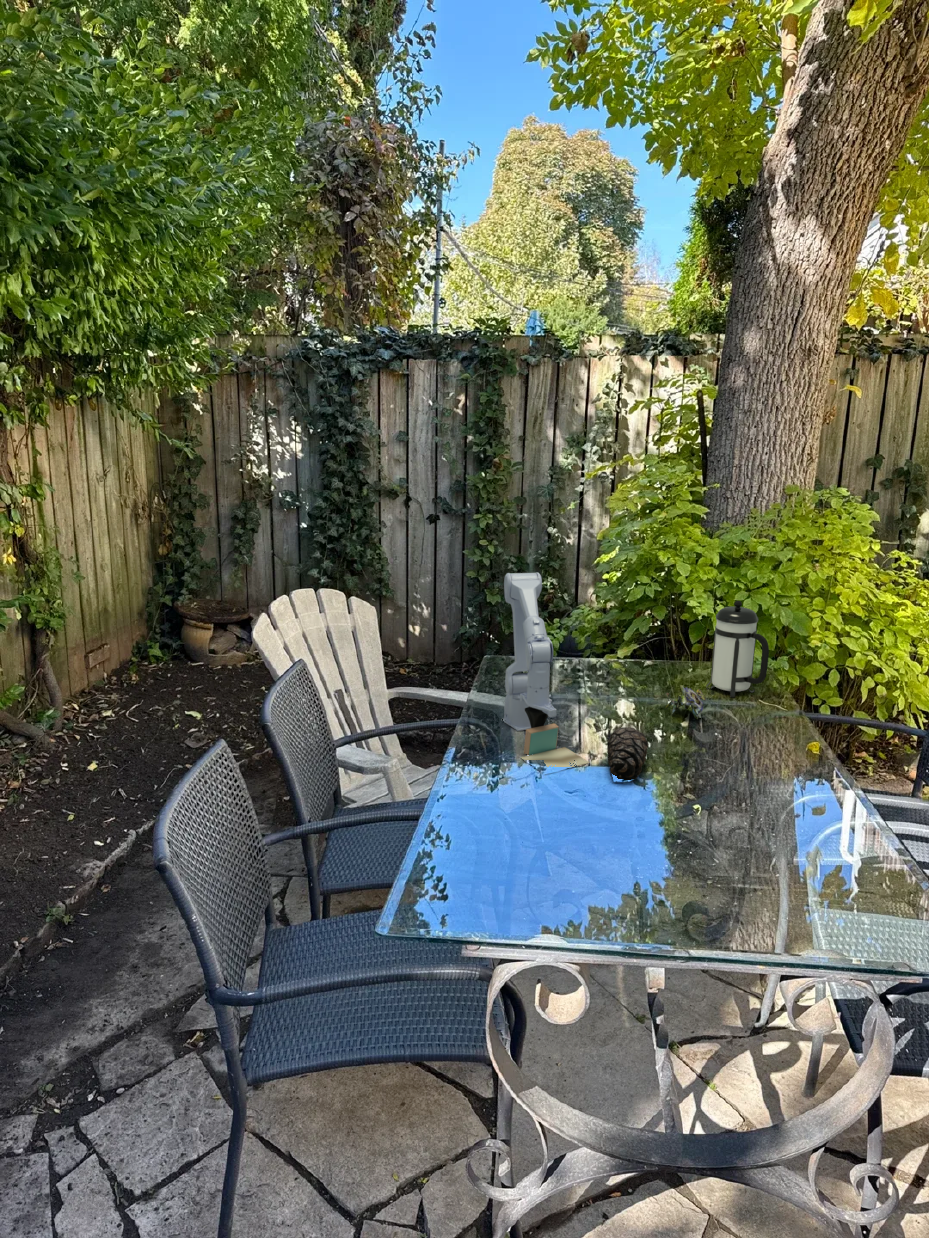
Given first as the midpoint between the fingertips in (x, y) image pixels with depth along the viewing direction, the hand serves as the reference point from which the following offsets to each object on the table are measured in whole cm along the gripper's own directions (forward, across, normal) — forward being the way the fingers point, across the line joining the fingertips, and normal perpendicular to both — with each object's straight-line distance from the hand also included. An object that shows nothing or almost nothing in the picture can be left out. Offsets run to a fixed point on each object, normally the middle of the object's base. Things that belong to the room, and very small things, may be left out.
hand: (537, 733), depth 211 cm
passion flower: (+5, 0, -52) cm, 52 cm away
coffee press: (+5, +8, -82) cm, 83 cm away
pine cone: (+5, -22, -13) cm, 26 cm away
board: (+4, -9, 0) cm, 10 cm away
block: (+4, -2, 0) cm, 5 cm away
